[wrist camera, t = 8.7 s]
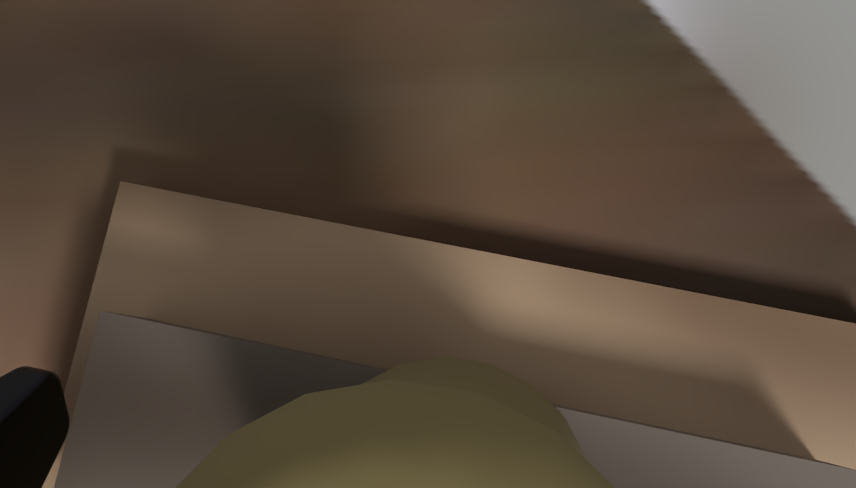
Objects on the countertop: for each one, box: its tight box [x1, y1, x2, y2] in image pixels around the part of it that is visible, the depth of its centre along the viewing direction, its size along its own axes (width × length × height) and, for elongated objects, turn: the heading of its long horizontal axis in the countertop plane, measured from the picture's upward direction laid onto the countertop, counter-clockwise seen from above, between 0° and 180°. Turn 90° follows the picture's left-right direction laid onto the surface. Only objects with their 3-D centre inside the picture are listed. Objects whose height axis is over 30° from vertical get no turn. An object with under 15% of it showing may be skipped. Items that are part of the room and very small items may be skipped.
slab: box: [42, 181, 856, 488], centre depth 18 cm, size 11×19×4 cm, turn 78°
